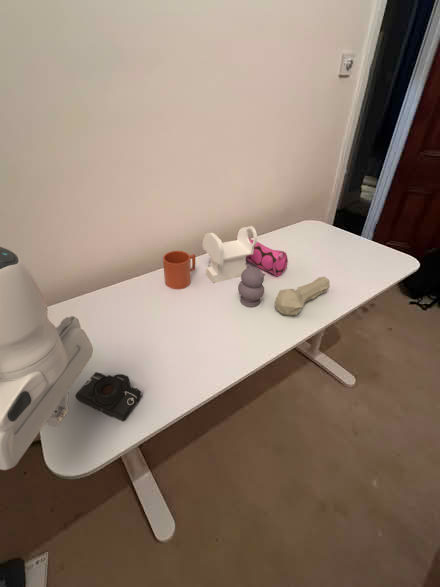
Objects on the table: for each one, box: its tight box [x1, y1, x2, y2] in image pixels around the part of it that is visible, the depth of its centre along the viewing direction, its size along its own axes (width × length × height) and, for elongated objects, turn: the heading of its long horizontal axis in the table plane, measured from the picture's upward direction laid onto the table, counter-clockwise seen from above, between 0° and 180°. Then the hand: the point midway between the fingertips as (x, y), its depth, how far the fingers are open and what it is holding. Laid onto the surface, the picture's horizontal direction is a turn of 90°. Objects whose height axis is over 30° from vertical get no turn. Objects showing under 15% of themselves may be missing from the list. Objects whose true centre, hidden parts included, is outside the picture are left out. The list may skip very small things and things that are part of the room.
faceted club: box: [274, 276, 331, 316], centre depth 95 cm, size 9×8×25 cm
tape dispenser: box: [202, 225, 258, 284], centre depth 102 cm, size 14×13×18 cm
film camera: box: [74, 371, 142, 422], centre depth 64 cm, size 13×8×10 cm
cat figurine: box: [237, 263, 266, 308], centre depth 92 cm, size 8×8×12 cm
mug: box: [162, 250, 196, 290], centre depth 101 cm, size 12×9×10 cm
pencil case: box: [236, 235, 289, 277], centre depth 111 cm, size 21×10×10 cm, turn 45°
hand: (59, 417), depth 48 cm, fingers closed
